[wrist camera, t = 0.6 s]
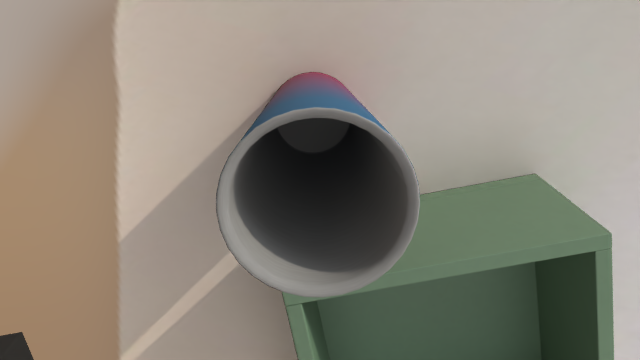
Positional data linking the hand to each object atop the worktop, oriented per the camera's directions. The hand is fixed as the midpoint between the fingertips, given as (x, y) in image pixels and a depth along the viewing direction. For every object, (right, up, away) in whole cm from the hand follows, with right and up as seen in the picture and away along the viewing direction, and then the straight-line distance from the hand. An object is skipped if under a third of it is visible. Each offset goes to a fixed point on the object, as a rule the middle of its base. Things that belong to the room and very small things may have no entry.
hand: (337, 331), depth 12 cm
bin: (+7, -5, +25) cm, 27 cm away
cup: (-1, +7, +21) cm, 22 cm away
